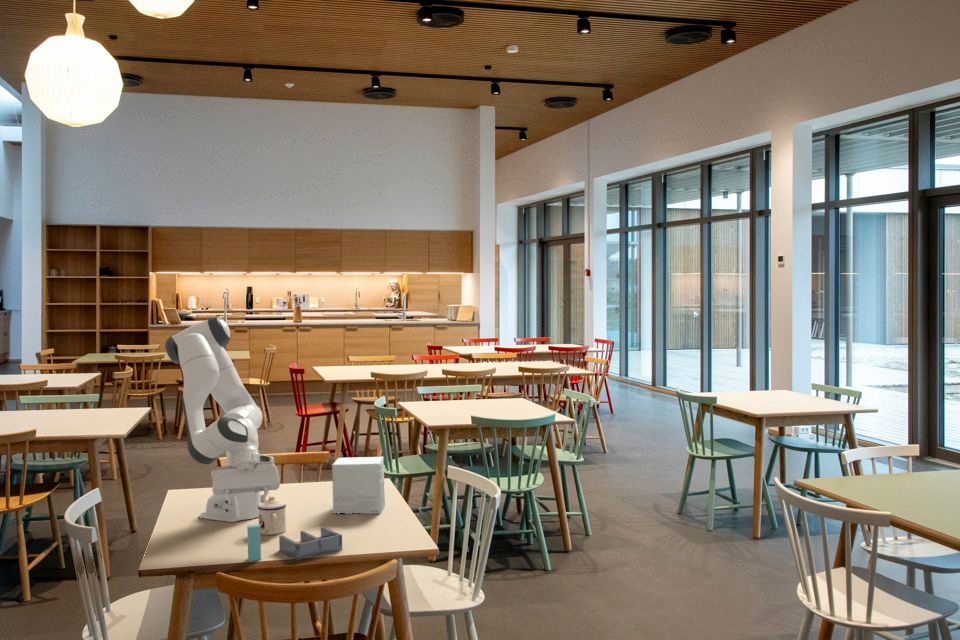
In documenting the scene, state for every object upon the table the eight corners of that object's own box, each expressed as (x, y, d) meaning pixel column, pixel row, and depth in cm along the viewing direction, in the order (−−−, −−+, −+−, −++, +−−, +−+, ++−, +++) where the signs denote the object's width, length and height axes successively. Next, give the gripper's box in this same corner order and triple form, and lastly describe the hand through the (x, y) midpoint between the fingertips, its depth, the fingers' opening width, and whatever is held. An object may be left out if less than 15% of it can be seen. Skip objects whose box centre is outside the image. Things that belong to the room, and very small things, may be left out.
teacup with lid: (257, 529, 272) (256, 494, 272) (284, 526, 275) (284, 492, 275) (260, 539, 261) (259, 503, 260) (289, 536, 264) (288, 500, 264)
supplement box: (385, 504, 302) (384, 456, 301) (380, 514, 289) (379, 463, 288) (339, 505, 302) (338, 456, 302) (332, 514, 289) (331, 464, 288)
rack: (279, 550, 250) (278, 535, 249) (323, 540, 259) (323, 526, 259) (296, 560, 240) (296, 545, 240) (342, 549, 249) (342, 535, 249)
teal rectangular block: (248, 558, 242) (247, 525, 241) (260, 557, 243) (259, 524, 243) (248, 561, 239) (247, 527, 239) (260, 559, 241) (260, 526, 240)
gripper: (210, 462, 253) (211, 500, 244) (278, 456, 259) (281, 494, 250) (211, 473, 258) (211, 511, 249) (277, 467, 264) (280, 505, 255)
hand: (247, 502), depth 249 cm, fingers open, 8 cm apart
